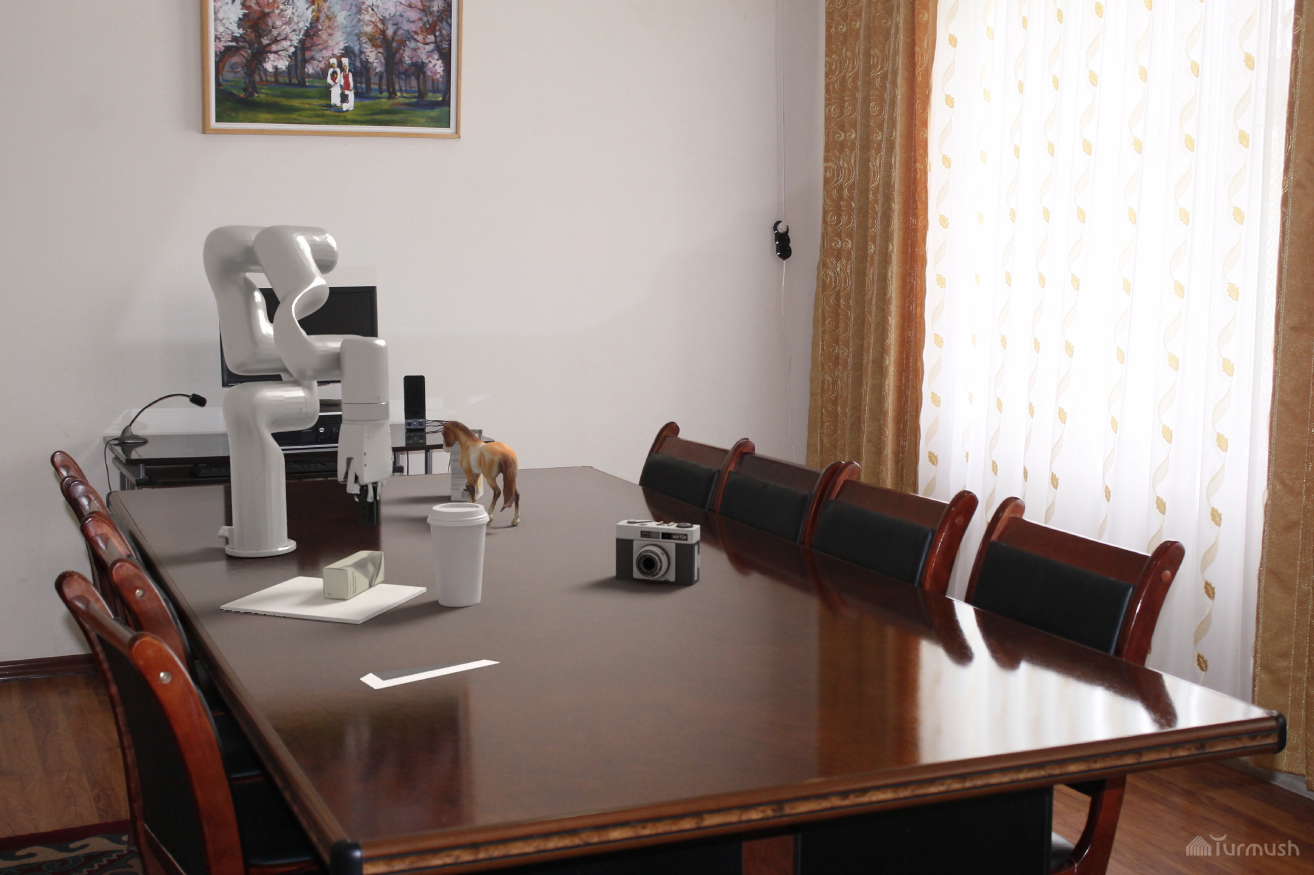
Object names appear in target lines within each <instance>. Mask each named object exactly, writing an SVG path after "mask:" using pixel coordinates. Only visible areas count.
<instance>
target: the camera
mask: <svg viewBox="0 0 1314 875" xmlns="http://www.w3.org/2000/svg"><path fill="white" fill-rule="evenodd" d="M700 543H701V525H700V524H692V523H689V522H679V523H675V522H674V521H673V522H672V521H671V522H670V523H664V521H660V522H657V521H653V520H650V519H623V520H622V521H619V522H617V523H616V524H615V579H616V580H623V581H624V580H626V581H636V582H646V583H647V582H648V583H649V582H650V583H658V584H659V583H660V584H668V585H669V584H670V585H671V584H672V585H681V586H694V585H696V584H697V583H698V582H699V581H700V567H701V566H700V563H701V562H700V561H701V557H700V556H701V554H700V552H701V550H700V549H701V545H700Z"/></svg>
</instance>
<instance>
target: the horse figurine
mask: <svg viewBox="0 0 1314 875" xmlns="http://www.w3.org/2000/svg"><path fill="white" fill-rule="evenodd" d="M439 424H440V425H441V426H442V427H443V428H442V431H441V435H442V437H443V446H442V450H443V451H444V452H445V453H448V454H450V452H451V448H452V447H453V445H454V444H455V442H456V441H458V442H459V445H460V448H461V452H460V457H459V463H460V466H461V468H462V469H463V471H464V475H465V477H466V479H467V481H468V483H469V496H468V501H467V503H475V504H476V501H475V493H476V490H475V485H476V483H477V481H478V479H479V477H480V475H481V474H483V478H484V479H485V480H486V484H487V485H488V487H489V488H490V489H492V491H493V496H492V501H491V502H490V505H489V507H488V509H487V514H488V516H489V521H488V522H486V524H492V522H493V521H494V517H493V512H494V510H495V507H496V505H497V501H498V500H499V499H500V497H501V494H502V495H503V504H502V507H501V508H500V511H499V513H503V511H504V510H505V509H507V508H510V509H511V507H512V506H513V504H514V516H513V518H512V521H511V522H510V524H511V525H512V526H515V525H516V526H518V525H519V524H520V516H521V513H520V507H519V506H520V504H519V503H520V494H521V493H520V492H519V490H518V488H517V481H516V479H517V475H518V471H519V468H518V467H519V466H518V458H517V454H516V452H515V451H514V450H513V449H512V448H511V447H510V446H509V445H507V444H506V443H504V442H501V441H492V442H491V441H490V442H487V443H486V442H484V441H483V439H482V440H480V439H479V438H478V437H477V436H476V435H475V434H474V433H473V432H472V431H471V430H470V428H469V427H468V426H466V425H465V424H464V423H462V422H460V421H458V420H451V421H448V422H447V421H444V422H443V421H439ZM500 474H502V483H503V484H502V486H503V487H502V490H501V488H500V487H499V486H498V484H497V477H498V476H499V475H500Z"/></svg>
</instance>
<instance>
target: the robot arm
mask: <svg viewBox="0 0 1314 875" xmlns="http://www.w3.org/2000/svg"><path fill="white" fill-rule="evenodd" d="M202 259H203V260H202V262H203V267H204V273H205V276H206V278H207V281H208V283H209V285H210V288H211V291H212V293H213V296H214V299H215V302H216V308H217V316H218V323H219V331H220V336H221V343H222V344H221V345H222V350H223V355H224V361H225V364H226V366H227V369H229V371H231V373H233V374H236V375H239V376H262V375H265V376H266V375H267V376H268V375H280V376H281V378H282V380H274V381H273V380H267V381H249V382H243V383H240V384H239V383H238V384H235V385H233V386H232V387H230V388H229V389H228V390H227V391H226V392H225V393H224V395H223V397H222V403H221V405H222V414H223V419H224V424H225V428H226V432H227V438H228V445H229V446H228V447H229V460H230V461H229V462H230V463H229V464H230V484H231V486H230V487H231V488H230V490H231V505H232V506H231V507H232V508H231V513H232V514H231V515H232V526H226V525H223V526H221V527H220V529H219V531H218V532H217V537H218V538H221V539H227V540H228V544H226V545H225V546H224V553H225V554H226V555H228V556H232V557H239V558H262V557H263V558H264V557H270V556H271V557H272V556H278V555H284V554H288V553H291V552H293V551H294V550H296V548H297V542H296V541H295V540H292V539H290V538H288V525H287V523H288V519H287V498H286V494H287V493H286V488H287V487H286V468H285V464H286V462H285V457H284V456H285V455H284V453H283V451H282V449H281V447H280V446H279V444H278V443H277V441H276V440H275V439H274V437H273V436H272V434H273V433H278V432H279V433H280V432H281V433H283V432H291V431H292V432H293V431H301V430H307V429H310V428H312V427H313V426H314V425H316V423H317V421H318V419H319V416H320V395H319V388H318V383H317V382H321V381H322V382H323V381H340V391H341V392H340V394H341V395H340V396H341V397H340V398H341V418H342V419H341V423H340V428H339V435H338V445H337V481H338V482H339V483H340V484H343V485H345V484H346V492H347V493H348V494H353V495H354V500H355V501H356V510H357V512H356V513H357V519H356V520H357V525H361V526H376V525H378V524H380V523H381V522H380V521H381V520H380V519H381V518H380V516H381V515H380V514H381V512H380V500H381V498H382V488H383V487H385V486H386V485H387V484H388V480H389V479H388V478H390V476H392V474H393V465H394V464H393V463H394V462H393V444H392V434H391V428H390V422H391V420H390V418H391V417H390V388H389V387H390V384H389V383H390V381H389V349H388V348H389V346H388V344H387V341H386V340H385V339H384V338H381V337H377V336H376V337H375V336H362V335H359V334H358V335H356V334H311V335H310V334H309V335H307V333H306V331H305V330H304V329H303V328H302V327H301V326H300V324H299V322H298V321H299V320H301V319H303V318H305V317H307V316H309V315H311V314H313V313H314V312H316V311H317V310H319V309H320V308H321V307H323V306H324V305H325V303H326V302H327V300H328V297H329V295H330V288H329V285H328V282H327V281H326V279H325V278H324V275H327V274H329V273H331V272H332V271H334V269H335V268H336V267H337V264H338V262H339V249H338V245H337V243H336V240H335V238H334V237H333V235H332V234H331V233H330V232H329V231H328V230H327V229H324V228H322V227H319V226H307V225H306V226H303V225H291V224H290V225H288V224H286V225H285V224H276V225H274V224H273V225H271V226H261V225H259V226H257V225H243V224H239V225H238V224H235V225H233V224H231V225H225V226H220V227H216V228H214V229H212V230H211V231H210V232H209V233H208V235H207V236H206V238H205V241H204V243H203V251H202ZM247 273H257V274H264V276H265V278H266V279H267V281H268V282H269V284H270V287H271V288H272V291H273V292H274V294H275V296H276V297H277V299H278V302H279V304H278V306H277V309H276V311H275V313H274V316H273V323H271V322H270V320H269V317H268V313H267V312H268V311H267V305H266V304H267V303H266V299H265V297H264V295H263V293H262V291H260V289H259V288H258V286H257V284H255V283H254V282H253V280H252V279H250V277H249V276H247V275H246V274H247Z"/></svg>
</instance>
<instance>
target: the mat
mask: <svg viewBox="0 0 1314 875" xmlns="http://www.w3.org/2000/svg"><path fill="white" fill-rule="evenodd" d="M426 592H427V587H423V586H413V585H401V584H391V583H390V584H389V583H381V582H380V583H378V584H376V585H374V586H372V587H371V588H369V589H367V590H365V591H363V592H361V593H359V594H357V595H356V596H354V597H352V598H350V599H348V600H337V599H324V593H323V577H322V578H321V577H310V576H309V577H308V576H298V575H297V577H294V578H290V579H288V580H285V581H283V582H280V583H278V584H275V585H272V586H269V587H267V588H265V589H262V590H260V591H257V592H254V593H252V594H249V595H246V596H243V597H240V598H238V599H236V600H233V601H230V602H227V603H225V604H222V605H220V606H219V610H220V609H224V610H223V611H225V610H232V611H231V612H235V611H240V612H239V613H244V612H252V613H251V614H254V613H258V614H257V615H264V614H266V616H274V615H275V616H276V617H284V616H285V617H287V618H294V619H295V618H297V619H306V620H316V621H325V622H335V623H342V624H343V623H346V624H355V625H360V624H362V623H364V622H366V621H369V620H370V619H372V618H375V617H376V616H379V615H380V614H383V613H384V612H387V611H389V610H391V609H393V608H395V607H397V606H399V605H402V604H404V603H405V602H407V601H409V600H412V599H414V598H417V596H420V595H422V594H424V593H426Z"/></svg>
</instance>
